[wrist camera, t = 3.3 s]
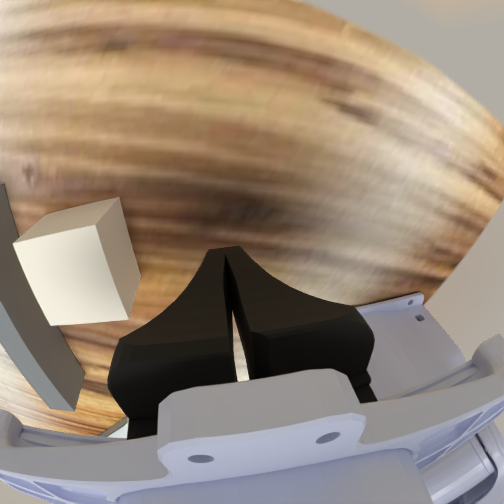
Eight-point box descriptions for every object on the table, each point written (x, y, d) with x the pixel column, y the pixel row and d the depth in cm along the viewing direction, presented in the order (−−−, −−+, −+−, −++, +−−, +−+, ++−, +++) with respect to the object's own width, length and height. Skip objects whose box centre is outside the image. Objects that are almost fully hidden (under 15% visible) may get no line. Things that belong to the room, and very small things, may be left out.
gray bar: (3, 183, 12) (-36, 207, 9) (85, 373, 20) (74, 411, 16) (-20, 193, 12) (-57, 216, 8) (62, 372, 20) (50, 408, 16)
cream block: (120, 196, 14) (95, 224, 11) (141, 276, 17) (128, 319, 13) (47, 213, 14) (12, 243, 10) (73, 285, 16) (50, 325, 13)
